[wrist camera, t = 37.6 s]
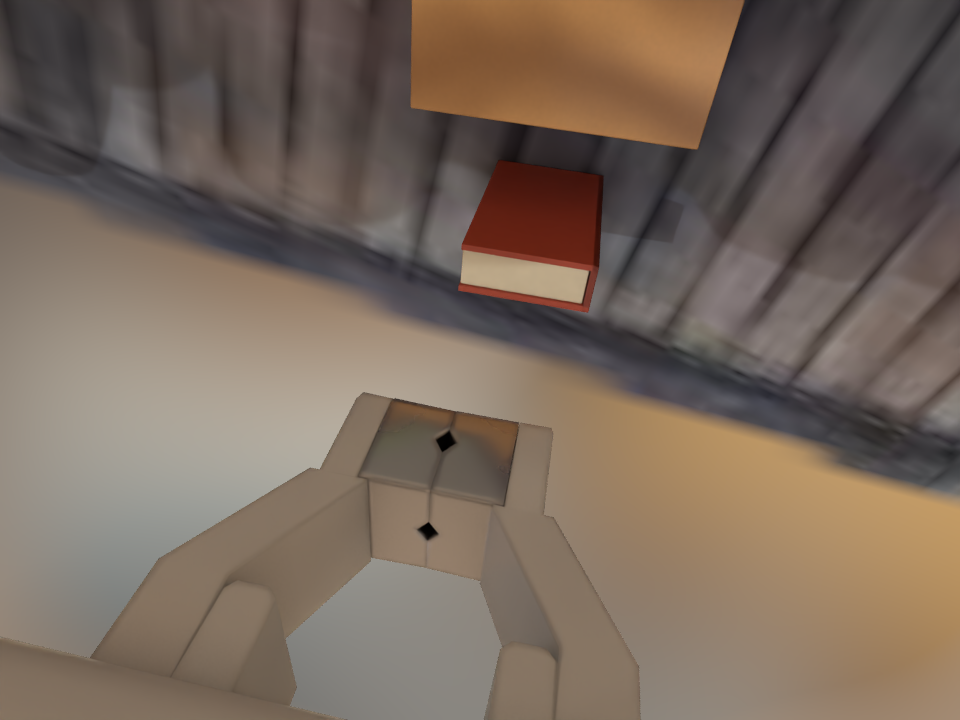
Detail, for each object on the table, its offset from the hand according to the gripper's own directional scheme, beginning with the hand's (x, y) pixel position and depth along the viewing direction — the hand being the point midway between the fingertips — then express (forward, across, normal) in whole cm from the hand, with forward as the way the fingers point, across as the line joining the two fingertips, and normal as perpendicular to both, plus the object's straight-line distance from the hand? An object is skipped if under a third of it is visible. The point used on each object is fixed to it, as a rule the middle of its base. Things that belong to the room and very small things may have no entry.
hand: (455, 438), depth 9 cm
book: (+27, 0, +7) cm, 28 cm away
